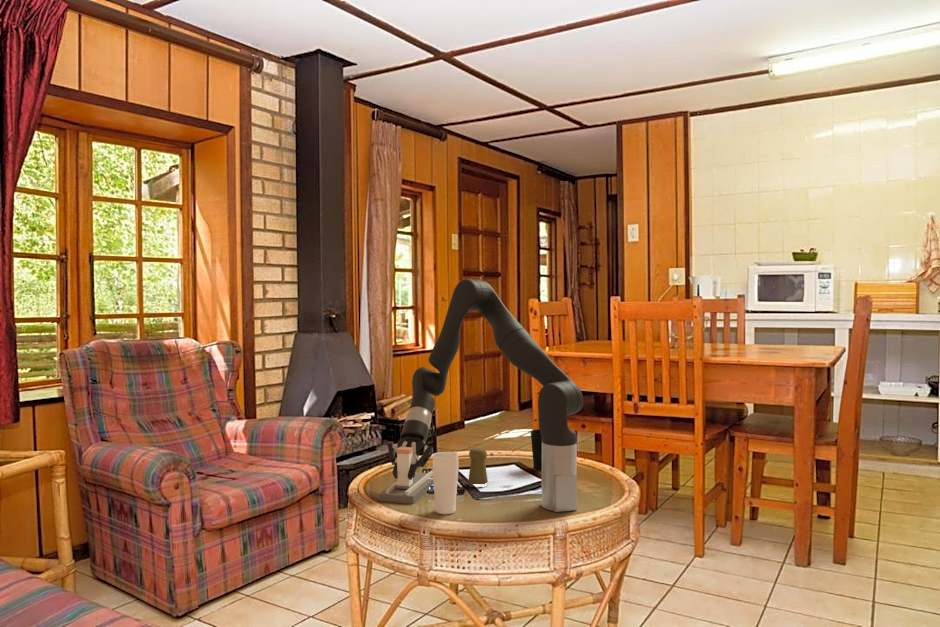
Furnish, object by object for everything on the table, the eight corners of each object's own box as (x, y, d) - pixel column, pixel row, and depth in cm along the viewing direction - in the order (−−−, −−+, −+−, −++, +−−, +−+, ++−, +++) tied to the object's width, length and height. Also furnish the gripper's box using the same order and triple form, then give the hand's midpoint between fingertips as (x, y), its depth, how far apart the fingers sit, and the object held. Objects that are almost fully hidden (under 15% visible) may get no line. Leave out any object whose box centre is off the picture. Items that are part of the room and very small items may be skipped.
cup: (525, 468, 229) (525, 431, 228) (541, 464, 234) (541, 428, 233) (543, 472, 223) (543, 435, 222) (559, 468, 228) (559, 431, 227)
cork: (488, 488, 206) (488, 450, 205) (467, 488, 206) (467, 450, 205) (488, 482, 212) (488, 446, 211) (467, 482, 212) (468, 445, 212)
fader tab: (400, 484, 201) (400, 446, 201) (414, 485, 200) (414, 447, 200) (395, 488, 197) (395, 449, 197) (409, 489, 196) (409, 450, 196)
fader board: (408, 478, 216) (408, 468, 216) (440, 480, 214) (440, 470, 214) (378, 500, 193) (378, 490, 193) (413, 503, 191) (413, 492, 191)
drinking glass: (430, 515, 181) (430, 457, 180) (435, 507, 188) (434, 451, 187) (456, 516, 180) (456, 458, 180) (460, 508, 187) (460, 452, 186)
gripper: (391, 417, 207) (375, 469, 196) (437, 419, 204) (423, 472, 192) (397, 431, 212) (382, 482, 201) (442, 434, 209) (429, 486, 198)
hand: (402, 477), depth 197 cm, fingers closed on fader tab, 3 cm apart
